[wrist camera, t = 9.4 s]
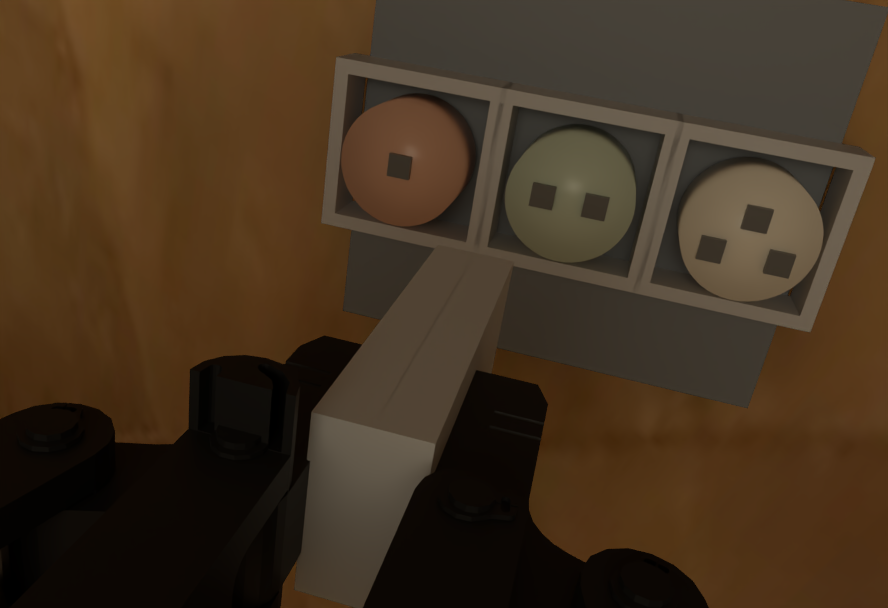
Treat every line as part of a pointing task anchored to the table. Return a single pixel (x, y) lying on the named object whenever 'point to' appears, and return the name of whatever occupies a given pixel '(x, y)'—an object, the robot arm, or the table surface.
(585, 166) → the sage button
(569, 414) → the table surface
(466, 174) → the terracotta button
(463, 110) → the panel
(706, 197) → the cream button
